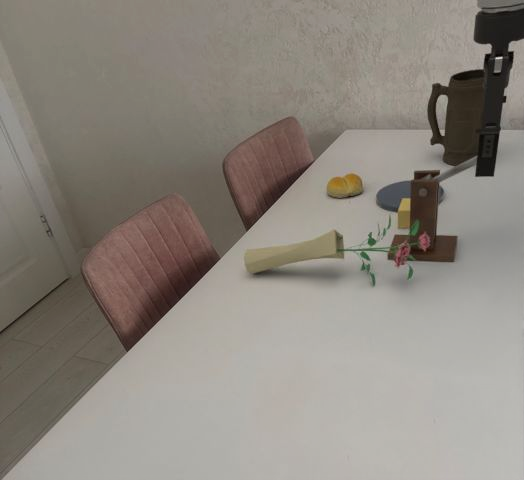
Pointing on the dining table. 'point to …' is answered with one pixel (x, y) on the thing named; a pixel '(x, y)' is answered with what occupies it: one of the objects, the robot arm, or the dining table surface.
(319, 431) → the dining table surface
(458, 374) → the dining table surface
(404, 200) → the butter pat
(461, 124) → the beer stein
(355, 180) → the bread roll
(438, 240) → the brown wooden stand
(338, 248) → the flower vase
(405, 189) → the plate
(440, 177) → the grey t-shaped bar
